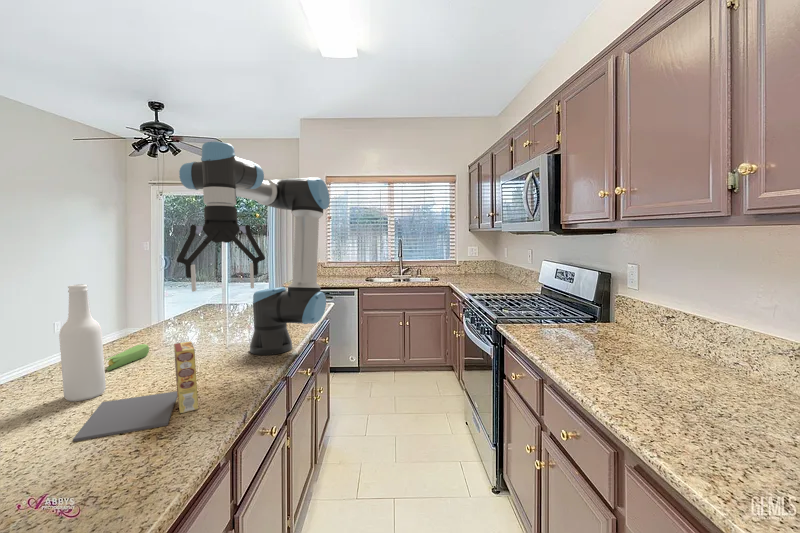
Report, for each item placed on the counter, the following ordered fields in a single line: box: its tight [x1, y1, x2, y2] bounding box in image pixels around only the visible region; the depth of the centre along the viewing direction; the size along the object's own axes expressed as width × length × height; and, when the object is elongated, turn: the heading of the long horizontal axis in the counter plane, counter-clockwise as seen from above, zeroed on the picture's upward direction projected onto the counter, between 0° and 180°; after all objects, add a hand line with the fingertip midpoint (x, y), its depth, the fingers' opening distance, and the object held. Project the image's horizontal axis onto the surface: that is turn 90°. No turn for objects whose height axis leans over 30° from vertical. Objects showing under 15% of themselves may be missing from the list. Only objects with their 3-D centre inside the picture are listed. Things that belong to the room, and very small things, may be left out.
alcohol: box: [58, 283, 107, 402], centre depth 103 cm, size 9×9×30 cm
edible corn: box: [104, 343, 150, 372], centre depth 132 cm, size 5×20×5 cm
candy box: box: [173, 341, 199, 414], centre depth 97 cm, size 9×4×15 cm, turn 33°
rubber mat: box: [72, 390, 178, 442], centre depth 93 cm, size 17×20×1 cm
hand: (224, 289), depth 99 cm, fingers open, 13 cm apart
